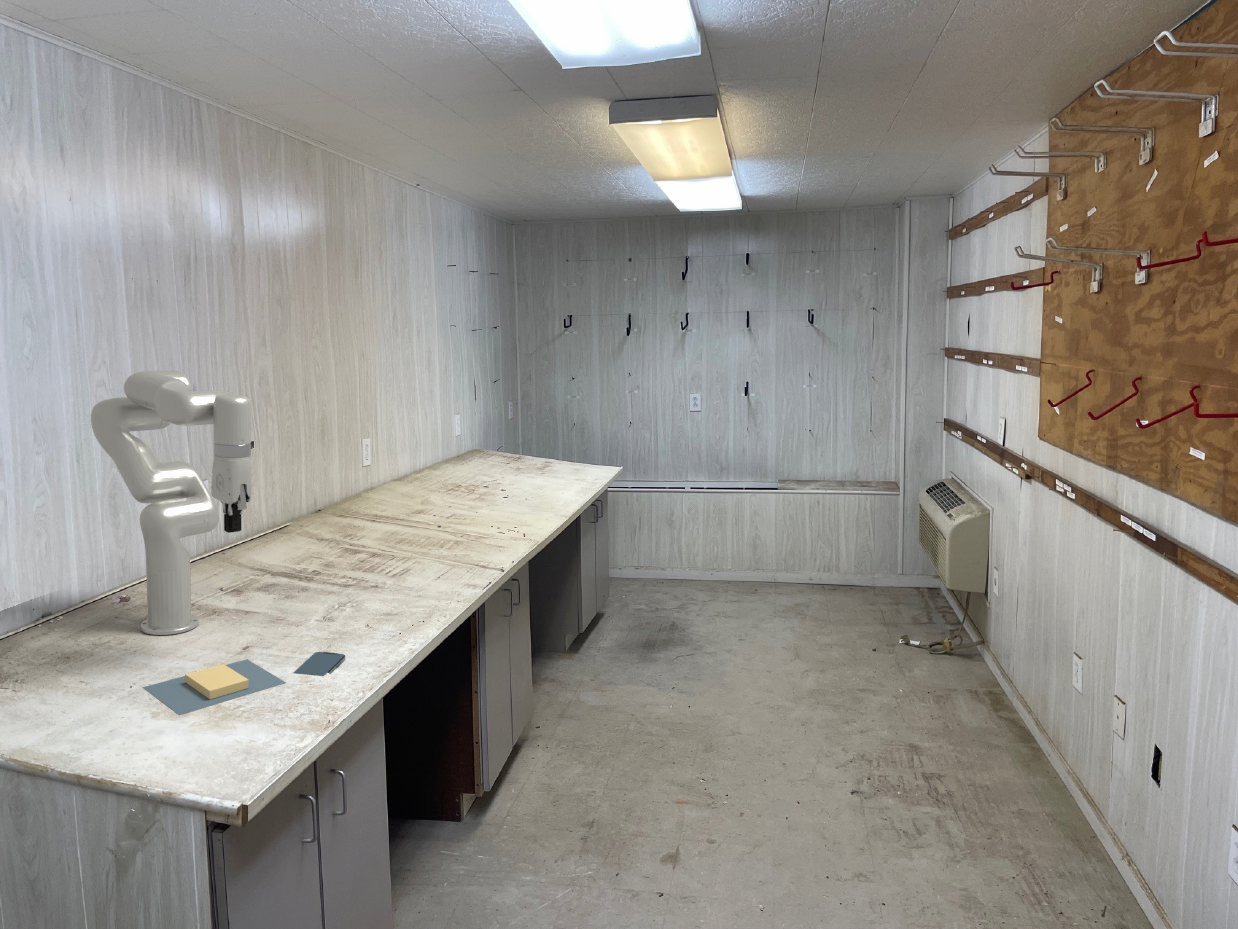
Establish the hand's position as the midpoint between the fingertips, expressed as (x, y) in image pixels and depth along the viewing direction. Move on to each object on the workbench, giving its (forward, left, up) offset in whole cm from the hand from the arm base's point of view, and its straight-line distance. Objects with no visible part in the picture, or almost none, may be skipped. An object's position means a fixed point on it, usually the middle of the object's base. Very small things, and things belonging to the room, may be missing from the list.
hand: (232, 531), depth 191 cm
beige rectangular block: (+11, -12, -27) cm, 31 cm away
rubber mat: (+16, -12, -29) cm, 35 cm away
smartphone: (+21, +8, -30) cm, 37 cm away
